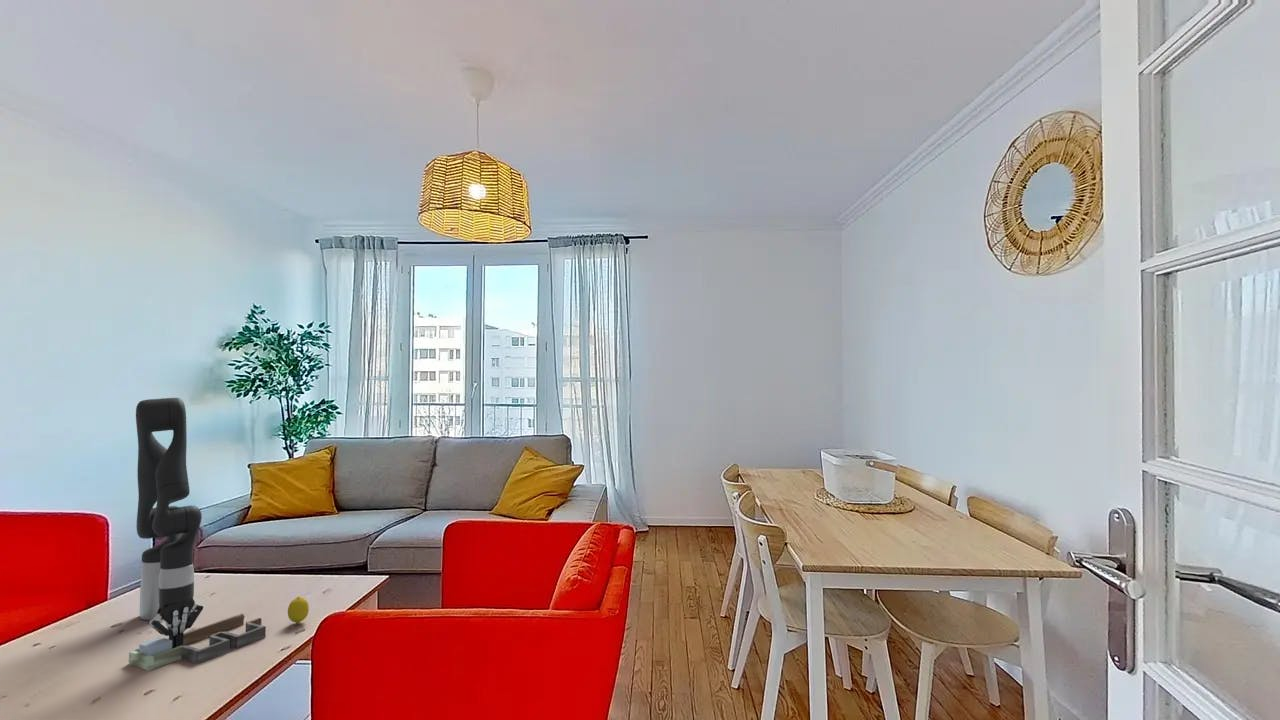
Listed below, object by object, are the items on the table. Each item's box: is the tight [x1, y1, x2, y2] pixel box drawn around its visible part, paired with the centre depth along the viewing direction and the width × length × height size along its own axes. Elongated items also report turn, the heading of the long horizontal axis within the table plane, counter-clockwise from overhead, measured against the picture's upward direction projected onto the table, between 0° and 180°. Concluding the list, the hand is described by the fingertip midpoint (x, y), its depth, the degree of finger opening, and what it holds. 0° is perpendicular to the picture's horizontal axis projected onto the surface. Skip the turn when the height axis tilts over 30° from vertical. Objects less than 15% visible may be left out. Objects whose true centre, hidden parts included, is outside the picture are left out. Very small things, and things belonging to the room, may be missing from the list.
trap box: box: [128, 613, 267, 671], centre depth 169 cm, size 16×29×3 cm, turn 156°
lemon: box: [287, 596, 310, 625], centre depth 186 cm, size 6×6×8 cm
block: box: [138, 636, 172, 656], centre depth 160 cm, size 5×5×5 cm
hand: (175, 647), depth 165 cm, fingers closed
